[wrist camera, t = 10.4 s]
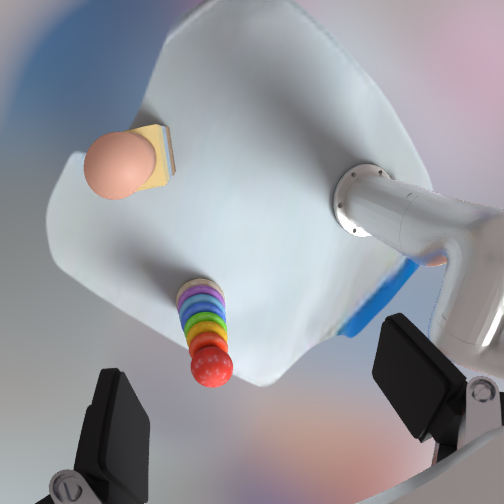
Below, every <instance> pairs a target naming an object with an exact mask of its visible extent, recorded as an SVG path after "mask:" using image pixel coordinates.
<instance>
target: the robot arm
mask: <svg viewBox="0 0 504 504" xmlns="http://www.w3.org/2000/svg"><path fill="white" fill-rule="evenodd" d="M351 174H352V175H351ZM338 204H339V205H338ZM333 207H334V213H335V216H336V219H337V221H338V222H339V224H340V225H341V227H342V228H343V229H344V230H346V231H347V232H349V233H350V234H352V235H355V236H361V237H365V236H370V235H372V236H373V237H375V238H377V239H378V240H380V241H382V242H383V243H385V244H386V245H388V246H390V247H391V248H393V249H394V250H396V251H398V252H399V253H401V254H402V255H404V256H406V257H407V258H409V259H411V260H412V261H414V262H415V263H417V264H420V265H423V266H438V265H441V264H445V263H447V267H446V270H445V274H444V280H443V283H442V286H441V289H440V292H439V295H438V298H437V301H436V304H435V307H434V309H433V312H432V315H431V318H430V321H429V325H428V338H427V337H426V336H425V335H424V334H423V333H422V332H421V331H420V330H419V329H418V328H417V327H416V326H415V325H414V324H413V323H412V322H411V321H410V320H408V318H407V317H405V316H404V315H403V314H402V313H397V314H394V315H391V316H388V317H386V319H385V321H384V322H383V323H382V327H381V332H380V337H379V342H378V348H377V352H376V356H375V361H374V365H373V369H372V375H373V378H374V380H375V382H376V383H377V384H378V386H379V387H380V389H381V390H382V392H383V393H384V394H385V396H386V397H387V399H388V400H389V402H390V403H391V405H392V406H393V408H394V409H395V411H396V412H397V414H398V415H399V417H400V418H401V420H402V421H403V423H404V424H405V425H406V427H407V428H408V430H409V431H410V433H411V434H412V435H413V437H414V438H416V439H417V438H418V439H419V441H420V442H421V443H423V442H424V441H426V440H428V439H430V438H431V437H433V438H434V440H435V448H434V453H433V459H432V464H431V467H430V468H428V469H426V470H425V471H423V472H421V473H419V474H417V475H415V476H414V477H412V478H410V479H408V480H406V481H404V482H402V483H400V484H398V485H396V486H394V487H392V488H390V489H388V490H386V491H384V492H382V493H379V494H377V495H375V496H372V497H370V498H367V499H365V500H363V501H360V502H358V503H355V504H504V392H499V390H498V386H497V385H496V383H495V382H494V381H493V380H491V379H490V378H487V377H484V376H477V377H474V378H472V379H471V380H470V381H469V382H467V381H466V377H465V376H464V375H463V374H462V373H461V372H460V371H459V370H458V368H457V367H456V366H454V364H453V363H452V362H454V363H456V364H458V365H461V366H464V367H466V368H469V369H472V370H475V371H478V372H481V373H484V374H486V375H489V376H493V377H495V378H498V379H501V380H504V209H502V208H498V207H492V206H487V205H481V204H475V203H471V202H466V201H462V200H458V199H455V198H451V197H448V196H445V195H442V194H439V193H436V192H433V191H429V190H426V189H423V188H420V187H417V186H413V185H410V184H407V183H403V182H400V181H396V180H393V179H391V178H390V176H389V175H388V173H387V172H386V171H384V170H383V169H382V168H380V167H378V166H375V165H371V164H361V165H357V166H355V167H353V168H351V169H350V170H348V171H347V172H346V173H345V174H344V175H343V177H342V178H341V179H340V181H339V183H338V185H337V187H336V190H335V193H334V199H333ZM149 437H150V421H149V417H148V415H147V414H146V412H145V410H144V409H143V407H142V405H141V403H140V401H139V400H138V398H137V396H136V394H135V392H134V390H133V388H132V386H131V385H130V383H129V381H128V379H127V377H126V375H125V373H124V372H120V371H119V369H118V368H108V369H102V370H101V372H100V375H99V378H98V382H97V385H96V389H95V393H94V397H93V400H92V404H91V405H89V407H88V408H87V410H86V414H85V418H84V422H83V426H82V430H81V435H80V440H79V444H78V449H77V453H76V459H75V464H74V469H73V470H69V469H68V470H61V471H59V472H57V473H56V474H55V475H54V476H53V477H52V479H51V480H50V484H49V492H50V494H49V495H48V496H46V497H45V498H43V499H42V500H40V501H39V502H37V503H35V504H144V503H147V502H148V464H149V461H148V460H149Z"/></svg>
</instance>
